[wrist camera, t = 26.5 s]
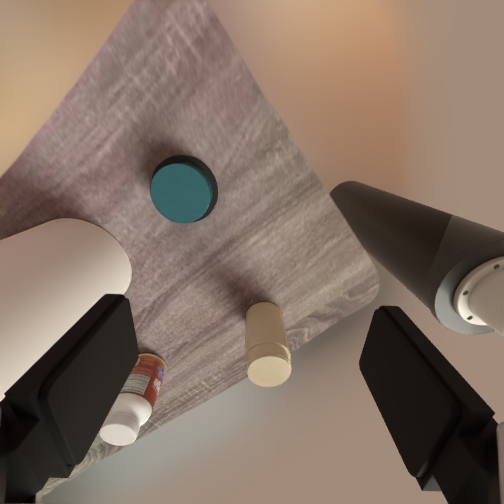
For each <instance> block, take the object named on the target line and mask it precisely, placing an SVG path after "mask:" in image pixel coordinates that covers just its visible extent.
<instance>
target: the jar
mask: <svg viewBox="0 0 504 504" xmlns="http://www.w3.org/2000/svg"><path fill="white" fill-rule="evenodd" d="M290 360H291V355H290V350H289V345H288V339H287V334H286V329H285V324H284V319H283V314H282V311H281V310H280V308H279V307H278V306H276V305H275V304H273V303H269V302H260V303H257V304H255V305H253V306H251V307H250V308H249V309H248V311H247V313H246V325H245V362H246V364H247V365H246V374H248V377H249V379H250V380H251V381H252V382H253V383H255V384H256V385H259V386H263V387H274V386H278V385H280V384H282V383H284V382H285V381H286V380H287V379H288V378H289V376H290V374H291V364H290Z"/></svg>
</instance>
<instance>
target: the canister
mask: <svg viewBox="0 0 504 504" xmlns="http://www.w3.org/2000/svg"><path fill="white" fill-rule="evenodd" d="M130 281H131V265H130V261H129V259H128V256H127V254H126V252H125V251H124V249H123V248H122V246H121V245H120V244H119V243H118V241H117V240H116V239H115V238H114V237H113V236H111V235H110V234H109V233H108V232H106V231H105V230H103V229H102V228H100V227H98V226H96V225H94V224H92V223H89V222H86V221H83V220H79V219H72V218H61V219H55V220H52V221H49V222H46V223H44V224H41V225H39V226H36V227H34V228H31V229H28V230H26V231H23V232H21V233H18V234H16V235H13V236H10V237H8V238H5V239H3V240H0V402H1V401H2V400H3V399H4V398H5V395H4V393H5V392H6V391H7V390H8V389H9V388H10V387H11V386H12V385H13V384H14V383H15V382H16V381H17V380H18V379H19V378H20V377H21V376H22V375H23V374H24V373H25V372H26V371H27V370H28V369H29V368H30V367H31V366H32V365H33V364H34V363H35V362H36V361H37V360H38V359H39V358H41V357H42V356H43V355H44V354H45V353H46V352H47V351H48V350H49V349H50V348H51V347H52V346H53V345H54V344H55V343H56V342H57V341H58V340H59V339H60V338H61V337H62V336H63V335H64V334H65V333H66V332H67V331H68V330H69V329H70V328H71V327H72V326H73V325H74V324H75V323H76V322H77V321H78V320H79V319H80V318H81V317H82V316H83V315H84V314H85V313H86V312H87V311H88V310H89V309H90V308H91V307H92V306H93V305H94V304H95V303H96V302H97V301H98V300H99V299H100V298H101V297H102V296H103V295H105V294H107V293H108V294H124V293H125V292H126V290H127V289H128V287H129V284H130Z"/></svg>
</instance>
